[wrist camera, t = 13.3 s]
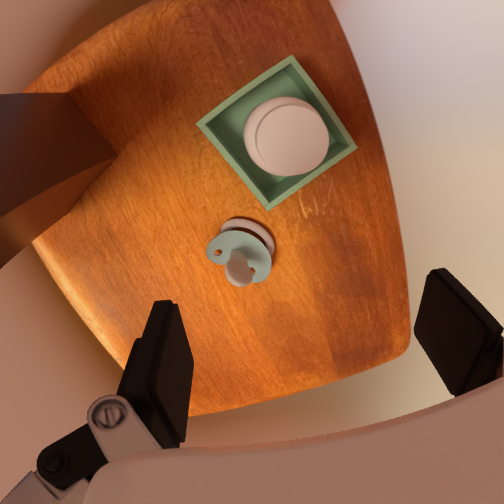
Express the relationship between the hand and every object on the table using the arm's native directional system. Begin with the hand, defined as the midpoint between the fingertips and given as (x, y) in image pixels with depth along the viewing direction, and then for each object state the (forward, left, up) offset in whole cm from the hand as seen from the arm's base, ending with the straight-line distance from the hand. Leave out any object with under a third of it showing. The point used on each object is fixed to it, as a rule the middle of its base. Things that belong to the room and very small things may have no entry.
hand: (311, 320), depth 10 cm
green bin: (-3, +4, -23) cm, 23 cm away
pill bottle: (-3, +4, -22) cm, 23 cm away
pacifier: (+5, -6, -23) cm, 24 cm away
